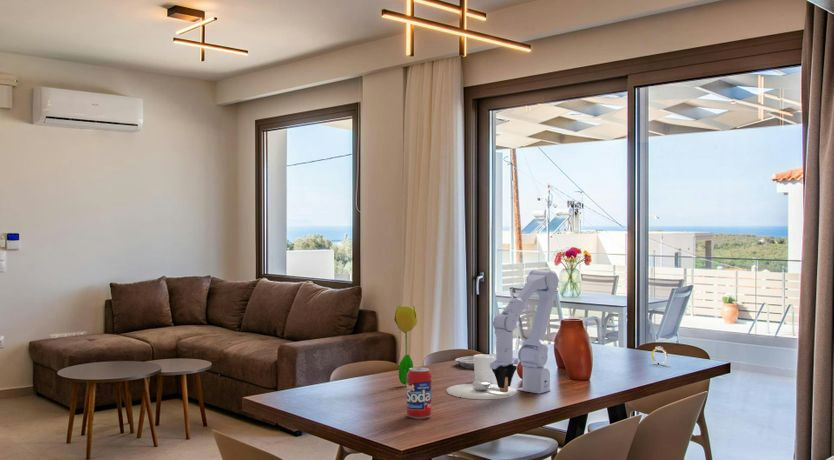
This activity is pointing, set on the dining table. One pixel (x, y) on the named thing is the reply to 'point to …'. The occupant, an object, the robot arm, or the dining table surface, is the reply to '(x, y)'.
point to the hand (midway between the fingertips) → (504, 386)
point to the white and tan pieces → (486, 386)
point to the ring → (659, 349)
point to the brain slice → (466, 362)
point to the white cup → (483, 367)
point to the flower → (405, 323)
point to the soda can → (419, 393)
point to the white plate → (479, 392)
